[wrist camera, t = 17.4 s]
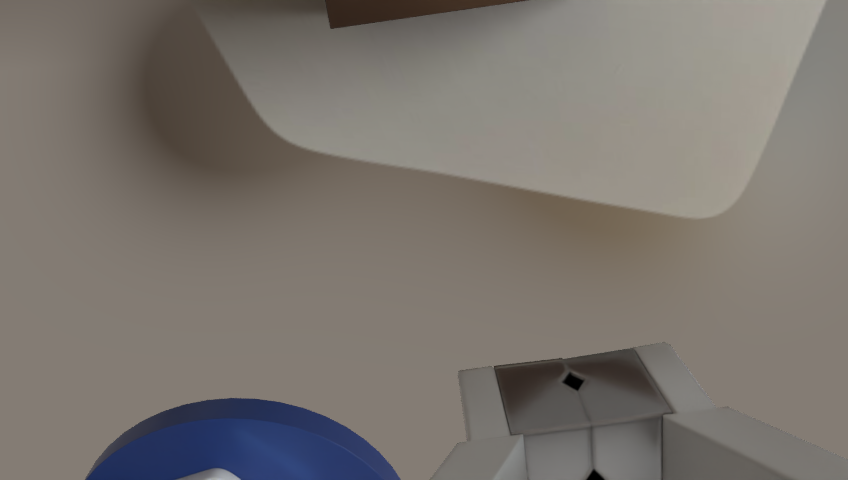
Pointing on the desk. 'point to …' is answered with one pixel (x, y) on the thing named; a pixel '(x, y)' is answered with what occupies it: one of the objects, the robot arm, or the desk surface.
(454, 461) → the robot arm
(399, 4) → the chest lid
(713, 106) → the desk surface
